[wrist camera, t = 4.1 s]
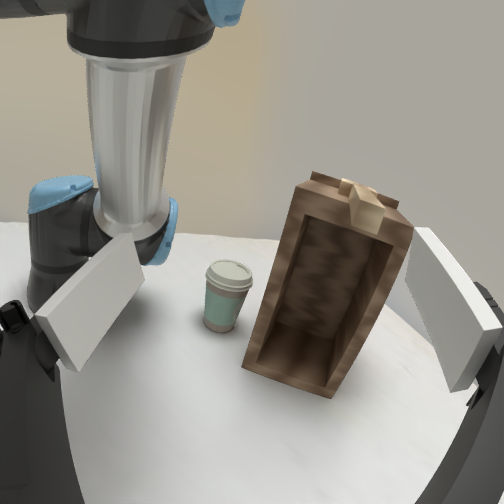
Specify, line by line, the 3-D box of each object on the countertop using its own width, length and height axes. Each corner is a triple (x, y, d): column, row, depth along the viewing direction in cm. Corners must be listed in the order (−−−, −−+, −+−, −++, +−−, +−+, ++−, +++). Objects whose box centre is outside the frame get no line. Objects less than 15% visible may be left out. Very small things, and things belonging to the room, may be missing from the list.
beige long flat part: (331, 218, 23) (339, 192, 22) (338, 188, 48) (342, 176, 47) (395, 242, 22) (405, 216, 21) (369, 199, 47) (373, 187, 46)
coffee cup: (234, 343, 52) (249, 287, 48) (190, 327, 53) (200, 270, 48) (244, 318, 60) (259, 267, 55) (205, 305, 61) (216, 253, 56)
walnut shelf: (241, 366, 47) (299, 174, 35) (266, 320, 61) (312, 171, 50) (331, 398, 43) (420, 217, 32) (337, 346, 58) (398, 201, 46)
